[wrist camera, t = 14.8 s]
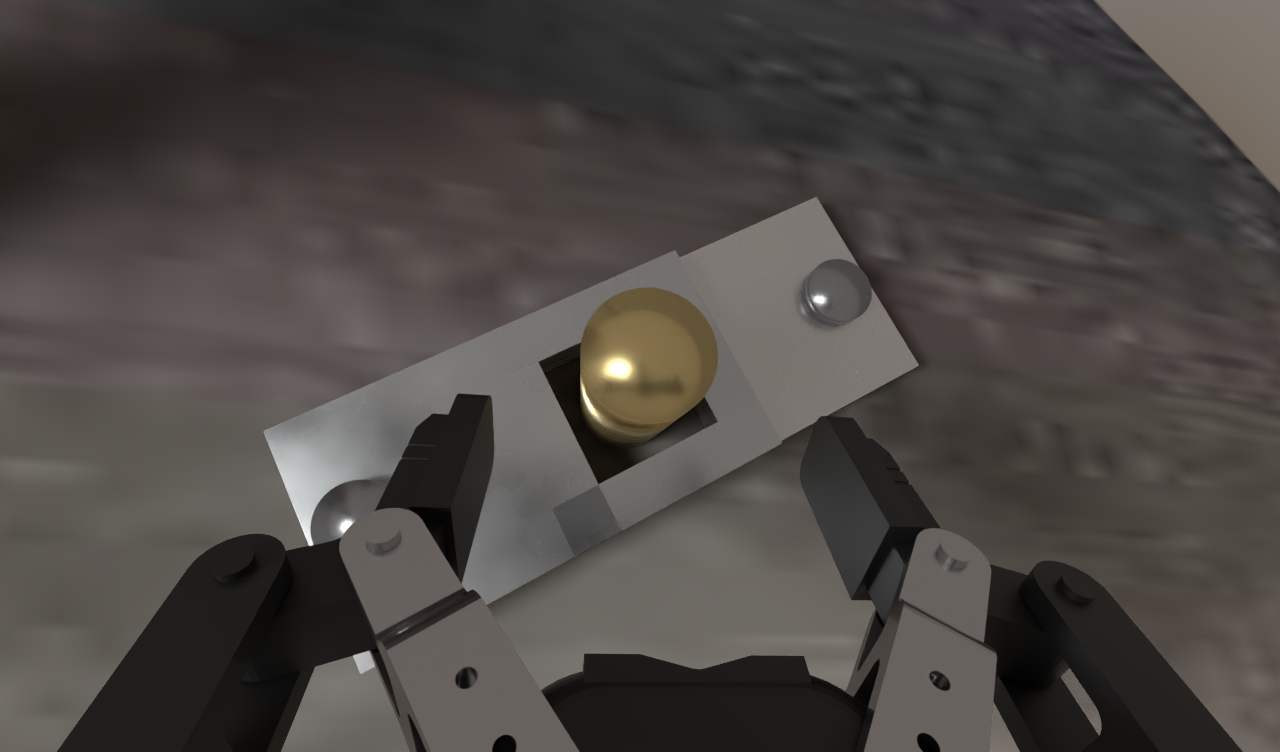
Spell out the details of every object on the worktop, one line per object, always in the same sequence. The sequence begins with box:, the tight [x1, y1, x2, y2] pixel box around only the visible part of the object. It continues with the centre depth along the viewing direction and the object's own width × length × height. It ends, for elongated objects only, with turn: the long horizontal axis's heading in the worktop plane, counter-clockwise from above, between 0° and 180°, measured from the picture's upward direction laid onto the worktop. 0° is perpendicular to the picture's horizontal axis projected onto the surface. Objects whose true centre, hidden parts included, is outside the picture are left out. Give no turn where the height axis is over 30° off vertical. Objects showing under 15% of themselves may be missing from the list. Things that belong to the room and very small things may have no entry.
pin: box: [580, 287, 718, 448], centre depth 20 cm, size 4×4×9 cm
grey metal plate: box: [263, 197, 919, 674], centre depth 22 cm, size 26×10×3 cm, turn 118°
